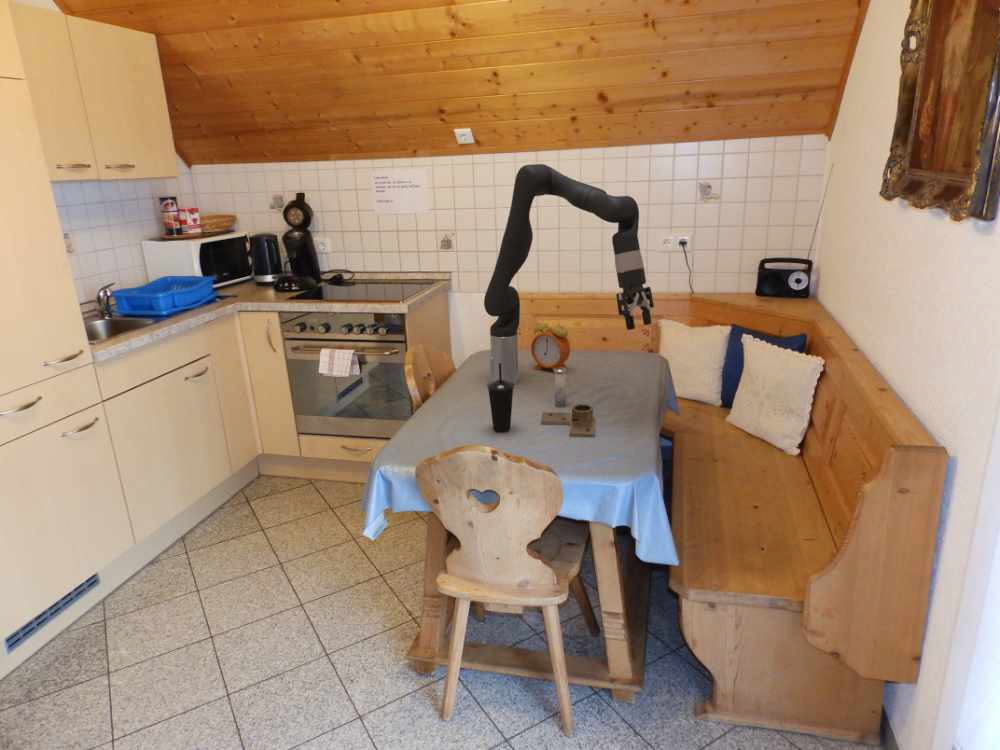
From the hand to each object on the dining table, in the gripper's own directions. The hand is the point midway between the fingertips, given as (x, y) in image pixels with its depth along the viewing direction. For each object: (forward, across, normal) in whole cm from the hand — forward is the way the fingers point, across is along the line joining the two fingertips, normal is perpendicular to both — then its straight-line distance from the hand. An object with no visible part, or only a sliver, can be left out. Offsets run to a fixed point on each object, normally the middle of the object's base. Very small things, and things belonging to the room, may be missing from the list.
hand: (639, 326), depth 188 cm
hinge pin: (+21, +2, -32) cm, 39 cm away
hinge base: (+25, +13, -21) cm, 35 cm away
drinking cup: (+22, +27, -34) cm, 49 cm away
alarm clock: (+14, -24, -56) cm, 63 cm away
